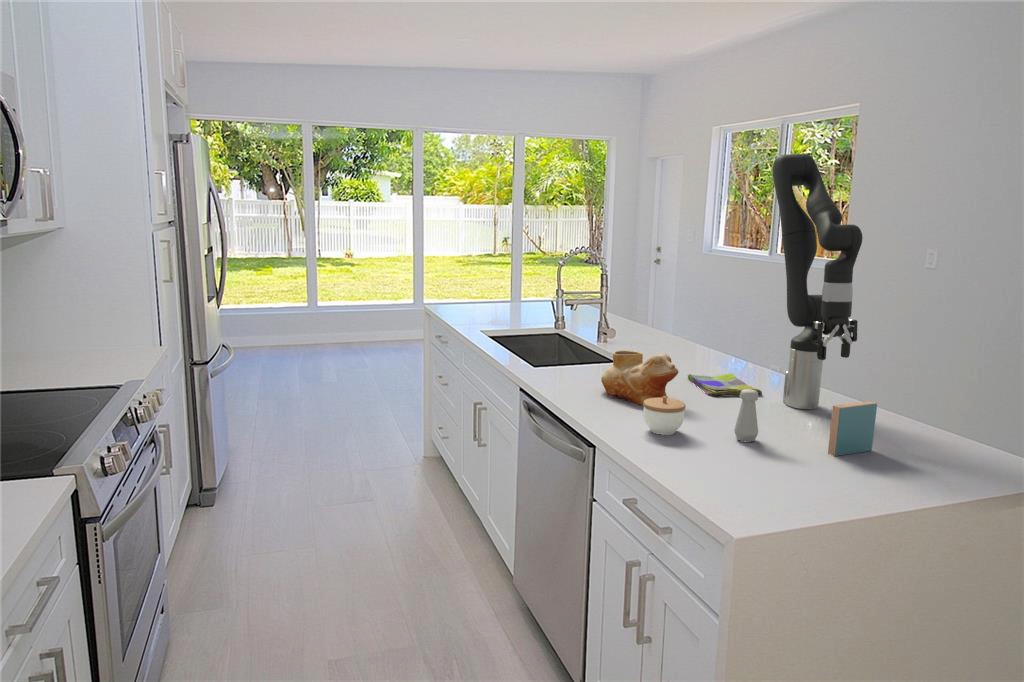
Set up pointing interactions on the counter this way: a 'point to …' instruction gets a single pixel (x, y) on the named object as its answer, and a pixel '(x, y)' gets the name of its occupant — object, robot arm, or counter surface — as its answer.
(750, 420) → the salt shaker
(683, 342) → the counter surface
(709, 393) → the dish towel
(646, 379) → the ceramic vessel
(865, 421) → the tile
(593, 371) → the counter surface
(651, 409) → the lidded jar
